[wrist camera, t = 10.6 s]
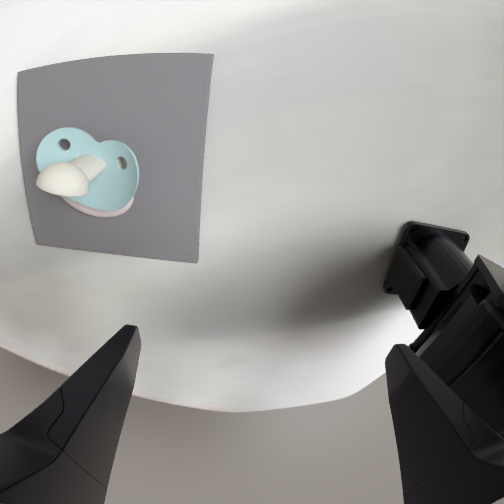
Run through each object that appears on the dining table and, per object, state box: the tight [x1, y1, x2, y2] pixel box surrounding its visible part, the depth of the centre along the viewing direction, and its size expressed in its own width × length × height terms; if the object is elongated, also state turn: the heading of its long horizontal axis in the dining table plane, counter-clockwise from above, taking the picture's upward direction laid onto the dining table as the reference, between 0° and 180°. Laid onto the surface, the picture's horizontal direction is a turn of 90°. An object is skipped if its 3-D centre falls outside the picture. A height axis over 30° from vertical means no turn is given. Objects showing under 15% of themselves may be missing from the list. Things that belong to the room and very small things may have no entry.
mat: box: [17, 53, 214, 263], centre depth 18 cm, size 14×14×1 cm
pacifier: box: [36, 127, 139, 217], centre depth 15 cm, size 7×6×6 cm
